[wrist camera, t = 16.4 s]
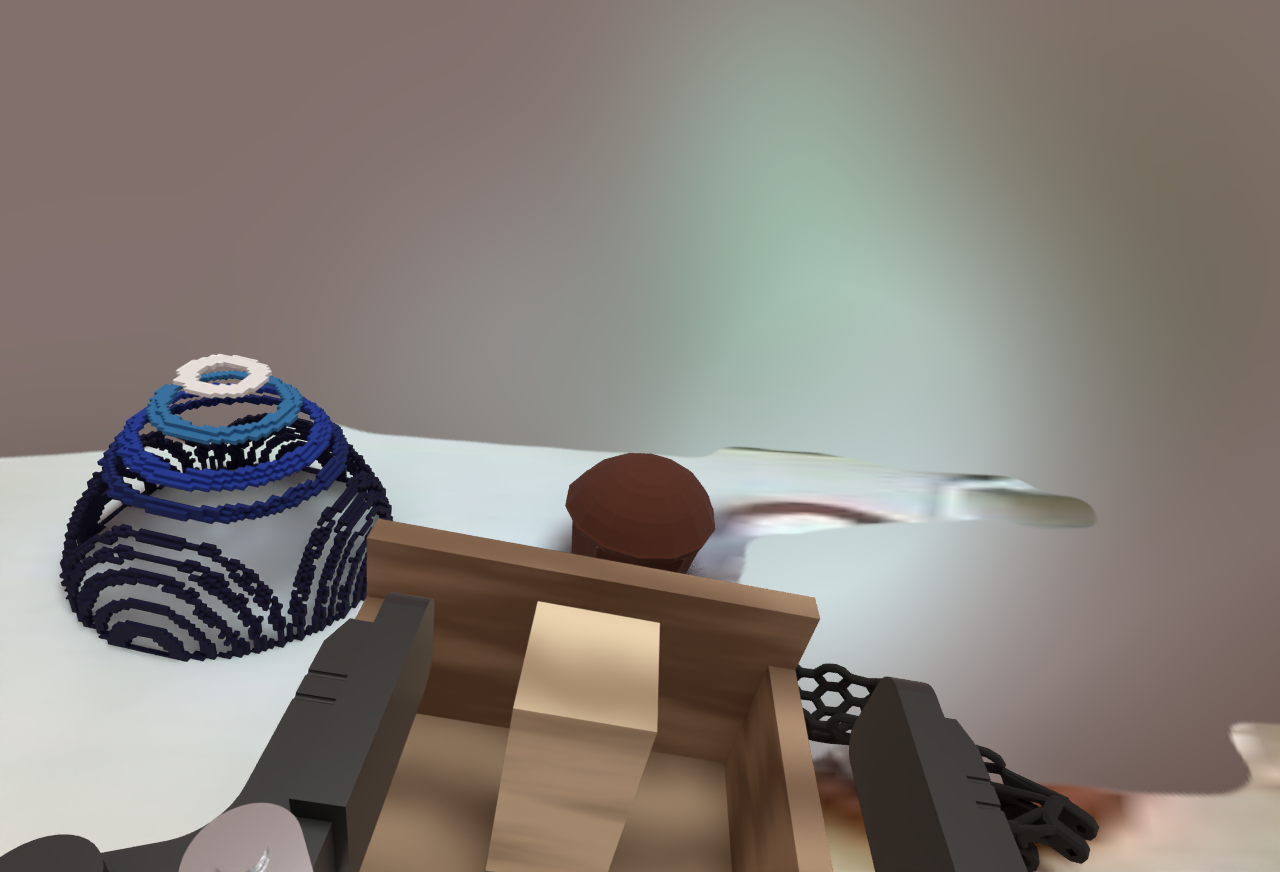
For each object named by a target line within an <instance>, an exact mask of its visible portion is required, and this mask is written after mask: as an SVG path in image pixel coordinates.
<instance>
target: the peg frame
mask: <svg viewBox="0 0 1280 872" xmlns="http://www.w3.org/2000/svg"><path fill="white" fill-rule="evenodd" d="M390 592H394V593H400V594H406V595H412V596H418V597H424V598H430V599H433V600H434V627H433V649H432V661H431V667H430V672H429V676H428V680H427V684H426V688H425V691H424V694H423V697H422V699H421V702H420V705H419V708H418V710H417V713H416V716H415V719H414V721H413V724H412V727H411V730H410V733H409V735H408V738H407V741H406V744H405V746H404V749H403V752H402V755H401V758H400V760H399V763H398V766H397V769H396V771H395V774H394V777H393V780H392V782H391V785H390V788H389V791H388V794H387V796H386V799H385V802H384V805H383V807H382V810H381V813H380V816H379V818H378V821H377V824H376V827H375V830H374V832H373V835H372V838H371V841H370V843H369V846H368V849H367V852H366V855H365V857H364V860H363V863H362V866H361V868H360V871H359V872H492V871H486V865H487V859H488V853H489V847H490V841H491V836H492V830H493V824H494V818H495V812H496V806H497V800H498V794H499V789H500V783H501V777H502V771H503V765H504V759H505V753H506V747H507V742H508V736H509V730H510V724H511V718H512V712H513V707H514V702H515V698H516V694H517V689H518V685H519V681H520V676H521V672H522V668H523V663H524V659H525V655H526V650H527V646H528V642H529V637H530V633H531V629H532V624H533V620H534V616H535V611H536V607H537V603H538V601H539V602H545V603H551V604H556V605H562V606H567V607H573V608H579V609H584V610H590V611H595V612H601V613H607V614H612V615H618V616H623V617H629V618H635V619H640V620H646V621H651V622H657V623H660V632H659V675H658V718H657V734H656V737H655V740H654V743H653V746H652V748H651V751H650V754H649V757H648V760H647V763H646V765H645V768H644V771H643V774H642V777H641V780H640V782H639V785H638V788H637V791H636V794H635V797H634V799H633V802H632V805H631V808H630V811H629V814H628V816H627V819H626V822H625V825H624V828H623V831H622V833H621V836H620V839H619V842H618V845H617V848H616V850H615V853H614V856H613V859H612V862H611V865H610V867H609V870H608V872H833V868H832V862H831V857H830V852H829V846H828V841H827V836H826V831H825V825H824V820H823V815H822V809H821V804H820V799H819V793H818V788H817V783H816V778H815V772H814V767H813V762H812V756H811V751H810V746H809V741H808V735H807V730H806V724H805V719H804V714H803V709H802V704H801V698H800V693H799V687H798V682H797V677H796V671H795V670H796V668H797V666H798V663H799V661H800V659H801V657H802V655H803V653H804V651H805V649H806V647H807V645H808V643H809V641H810V639H811V637H812V635H813V633H814V630H815V628H816V626H817V624H818V622H819V620H820V617H819V612H818V609H817V604H816V600H815V598H814V597H808V596H802V595H796V594H791V593H786V592H780V591H775V590H769V589H764V588H758V587H753V586H747V585H742V584H736V583H731V582H725V581H720V580H714V579H709V578H703V577H698V576H692V575H687V574H681V573H676V572H670V571H665V570H659V569H654V568H648V567H642V566H637V565H631V564H626V563H620V562H615V561H609V560H604V559H598V558H593V557H587V556H582V555H576V554H571V553H565V552H560V551H554V550H549V549H543V548H538V547H532V546H527V545H521V544H516V543H510V542H505V541H499V540H493V539H488V538H482V537H477V536H471V535H466V534H460V533H455V532H449V531H444V530H438V529H433V528H427V527H422V526H416V525H411V524H405V523H400V522H394V521H389V520H383V519H377V521H376V523H375V524H374V526H373V528H372V530H371V531H370V533H369V535H368V537H367V597H366V599H365V601H364V603H363V605H362V607H361V609H360V611H359V613H358V615H357V616H356V618H355V619H356V620H363V621H369V622H374V620H375V618H376V616H377V614H378V612H379V610H380V608H381V605H382V603H383V601H384V599H385V598H386V596H387V595H388V594H389V593H390Z"/></svg>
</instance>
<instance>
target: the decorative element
mask: <svg viewBox="0 0 1280 872" xmlns="http://www.w3.org/2000/svg"><path fill="white" fill-rule="evenodd" d="M795 671H796V677H797V681H798V680H799V679H800V678H803V677H807V678H814V679H815V681H816V682H817V683H818V684H819V686H818V687H817V688H816V689H815V690H814V691H813V692H809V691H803V690H801V688H800V687H799V686H798V687H799V693H800V698H801V699H802V700H810V701H812V702H813V703H814V705H815V706H816V708H817V710H816V711H814V712H813V713H812V714H810V713H809V711H807V710H806V709H804V708H802V709H803V714H804V719H805V724H806V730H807V735H808V739H809V740H812V741H817V742H822V743H829V744H841V745H849V742H850V735H851V733H846V731H848V730H852V728H853V726H854V724H855V722H856V720H857V719H858V717H859V716H856V715H851V714H846V712H847V711H848V710H849V708H851V707H852V706H856V707H860V709H861V712H862V710H863V708H864V707H865V705H866V703H867V702H868V700H869V698H870V696H871V695H872V693H873V691H874V690H875V688H876V686H877V685H878V683H879V681H880V680H881V679H882V678H865V677H861V676H858V675H854V674H851V673H850V672H849V671H848V670H847V669H846V668H844V667H842V666H840V665H837V664H822V665H821V666H819V667H817V668H815V669H807V668H802V667H801V666H800V665H799V664H798V666H797V668H796V670H795ZM827 672H832V673H838V674H839V675H841V676H842V677H843V679H842V680H841V681H840V682H827V681H826V679H825V678H824V677H823V676H822V675H824V674H826V673H827ZM850 684H856V685H860V686H864V687H866V688H867V690H868V691H869V693H870V694H869V695H867V696H866V697H865V698H857V697H853V696H852V695H851V693H850V692H849V691H848V689H847V687H849V686H850ZM826 691H833V692H839V693H840V695H841V696H842V697H843V699H844V701H843V702H842V703H841V704H840V705H839V706H838V707H828V706H825V705H824V703H823V702H822V700H821V699H820V697H821V696H822V695H823V694H824V693H825V692H826ZM823 716H832V717H831V718H830V719H828V721H820V720H819V719H821V718H822V717H823ZM944 718H945V717H944ZM976 746H977V747H978V749H979V752H980V754H981V756H983V757H987V758H988V759H990V760H991V761H993V762H994V763H988V762H984V764H985V766H986V769H987V771H988V772H989V773H995V774H999V775H1001V777H1002V780H1003V783H1004V785H1003V784H999V783H995V782H991V781H990V784H991V785H993V786H994V789H995V791H996V794H997V796H998V799H999V801H1000V804H1001V806H1000V809H1001V811H1004V814H1005V816H1006V819H1007V821H1008V824H1009V826H1010V829H1011V831H1012V834H1013V836H1014V839H1015V841H1016V844H1017V846H1018V848H1019V851H1020V853H1021V856H1022V858H1023V861H1024V863H1025V866H1026V868H1027V871H1028V872H1033V871H1036V870H1037V868H1038V865H1039V855H1038V850H1037V847H1036V846H1035V845H1034V844H1033V843H1032V842H1037V843H1040V844H1043V845H1049V846H1050V847H1052V848H1053V849H1054V850H1056V851H1057V852H1059V853H1060V854H1061V855H1063V856H1064V857H1065V858H1067V859H1068V860H1070V861H1072V862H1076V863H1080V864H1082V863H1083V862H1085V861H1086V860H1087V859H1088V857H1089V852H1090V848H1089V846H1088V844H1087V843H1086V841H1085V840H1090V841H1091V840H1092V839H1094V838H1095V837H1096V835H1097V832H1098V829H1099V826H1098V825H1097V823H1096V821H1095V819H1094V818H1093V817H1092V816H1091V815H1089V814H1088V813H1086V812H1085V811H1084V810H1082V809H1081V808H1079V807H1078V806H1076V805H1075V804H1074V803H1072V802H1071V801H1070V800H1069V798H1068V797H1066V796H1063V795H1061V794H1059V793H1057V792H1055V791H1053V790H1050V789H1048V788H1046V787H1044V786H1042V785H1040V784H1037V783H1035V782H1033V781H1031V780H1029V779H1027V778H1024V777H1022V776H1020V775H1018V774H1016V773H1014V772H1012V771H1010V770H1008V769H1006V768H1005V766H1006V764H1005V762H1004V760H1003V759H1002V757H1001V756H1000V755H998V754H997V753H995V752H994V751H992V750H990V749H988V748H985V747H982V746H978V745H976ZM1030 801H1032V802H1036V803H1039V804H1040V805H1042V806H1041V807H1039V806H1037V805H1035V804H1033V803H1032V802H1030ZM1084 839H1085V840H1084Z"/></svg>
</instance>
